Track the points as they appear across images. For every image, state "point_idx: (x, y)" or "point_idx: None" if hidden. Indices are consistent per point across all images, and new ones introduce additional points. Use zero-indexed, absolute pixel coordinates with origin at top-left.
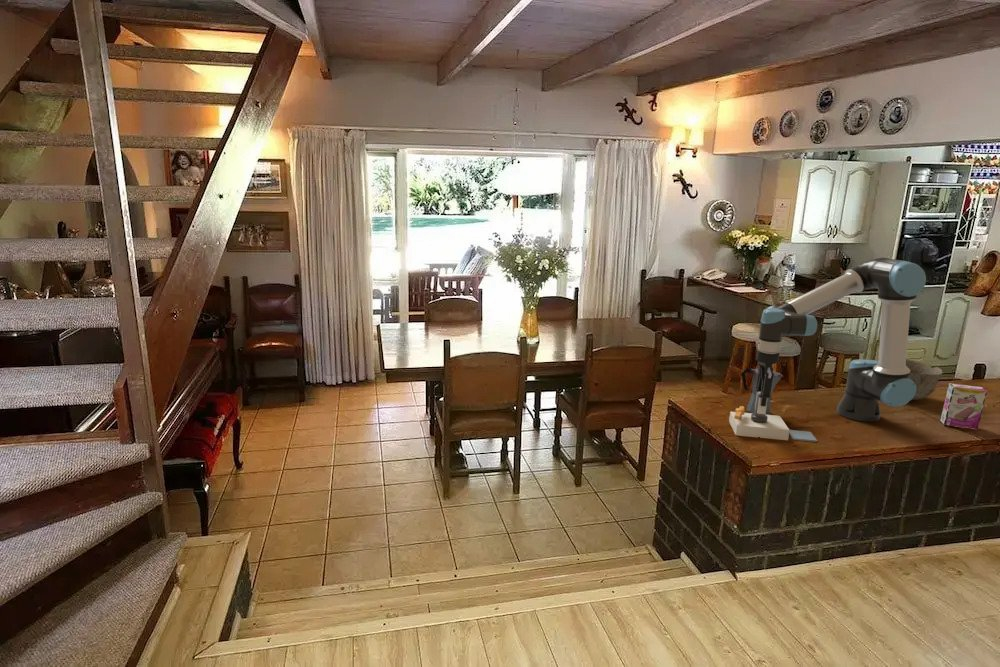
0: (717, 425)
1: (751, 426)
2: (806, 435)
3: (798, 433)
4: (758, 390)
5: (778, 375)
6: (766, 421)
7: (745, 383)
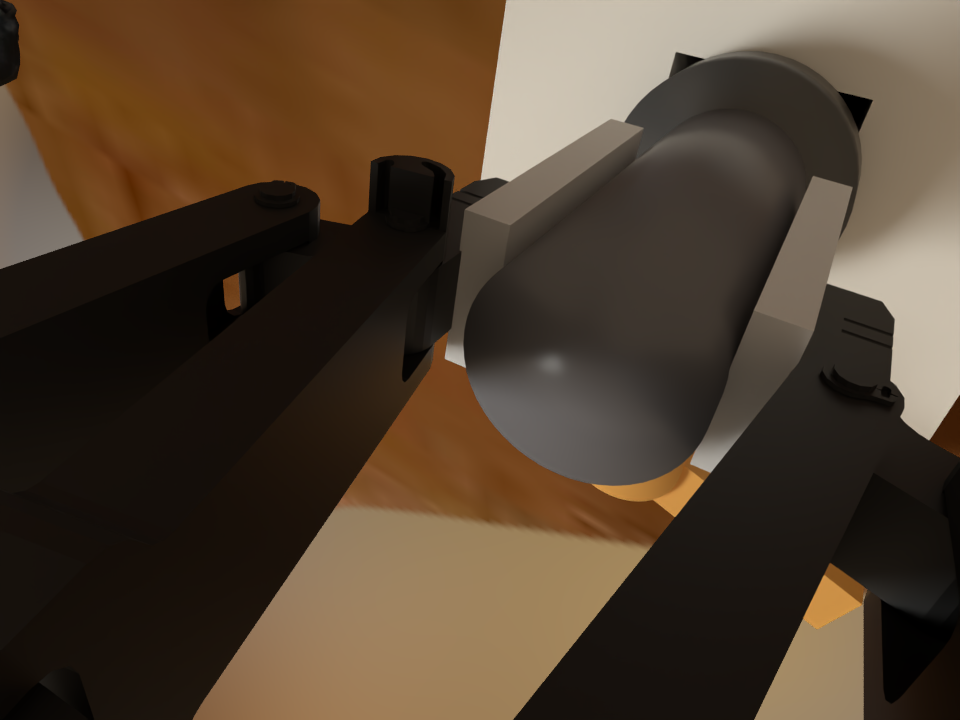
0: None
1: (953, 397)
2: None
3: None
4: (425, 368)
5: None
6: (838, 95)
7: None
